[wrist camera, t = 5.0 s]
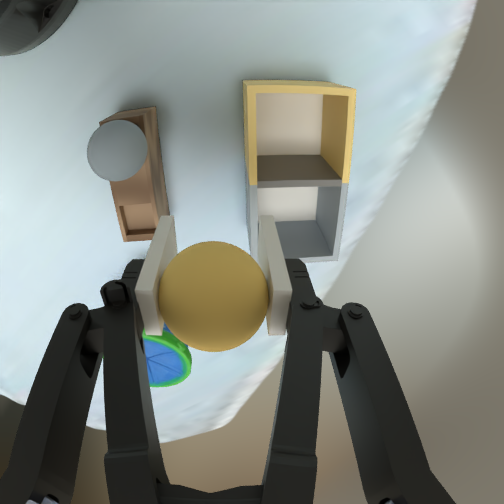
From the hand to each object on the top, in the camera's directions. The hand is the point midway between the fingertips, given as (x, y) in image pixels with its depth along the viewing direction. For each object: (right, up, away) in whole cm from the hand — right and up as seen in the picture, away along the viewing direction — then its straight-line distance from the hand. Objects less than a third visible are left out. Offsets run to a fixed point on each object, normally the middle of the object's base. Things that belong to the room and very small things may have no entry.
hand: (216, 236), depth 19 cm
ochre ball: (0, -2, -2) cm, 3 cm away
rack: (-9, +8, +12) cm, 17 cm away
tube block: (+5, +9, +13) cm, 16 cm away
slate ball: (-9, +8, +6) cm, 14 cm away
